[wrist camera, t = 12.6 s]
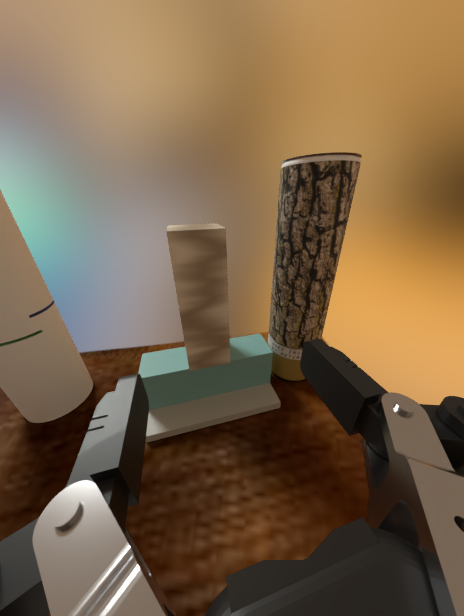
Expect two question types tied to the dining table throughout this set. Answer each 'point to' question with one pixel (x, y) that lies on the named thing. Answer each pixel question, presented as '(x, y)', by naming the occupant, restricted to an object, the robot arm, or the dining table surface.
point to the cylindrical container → (34, 336)
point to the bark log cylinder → (307, 251)
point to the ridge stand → (206, 388)
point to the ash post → (202, 291)
